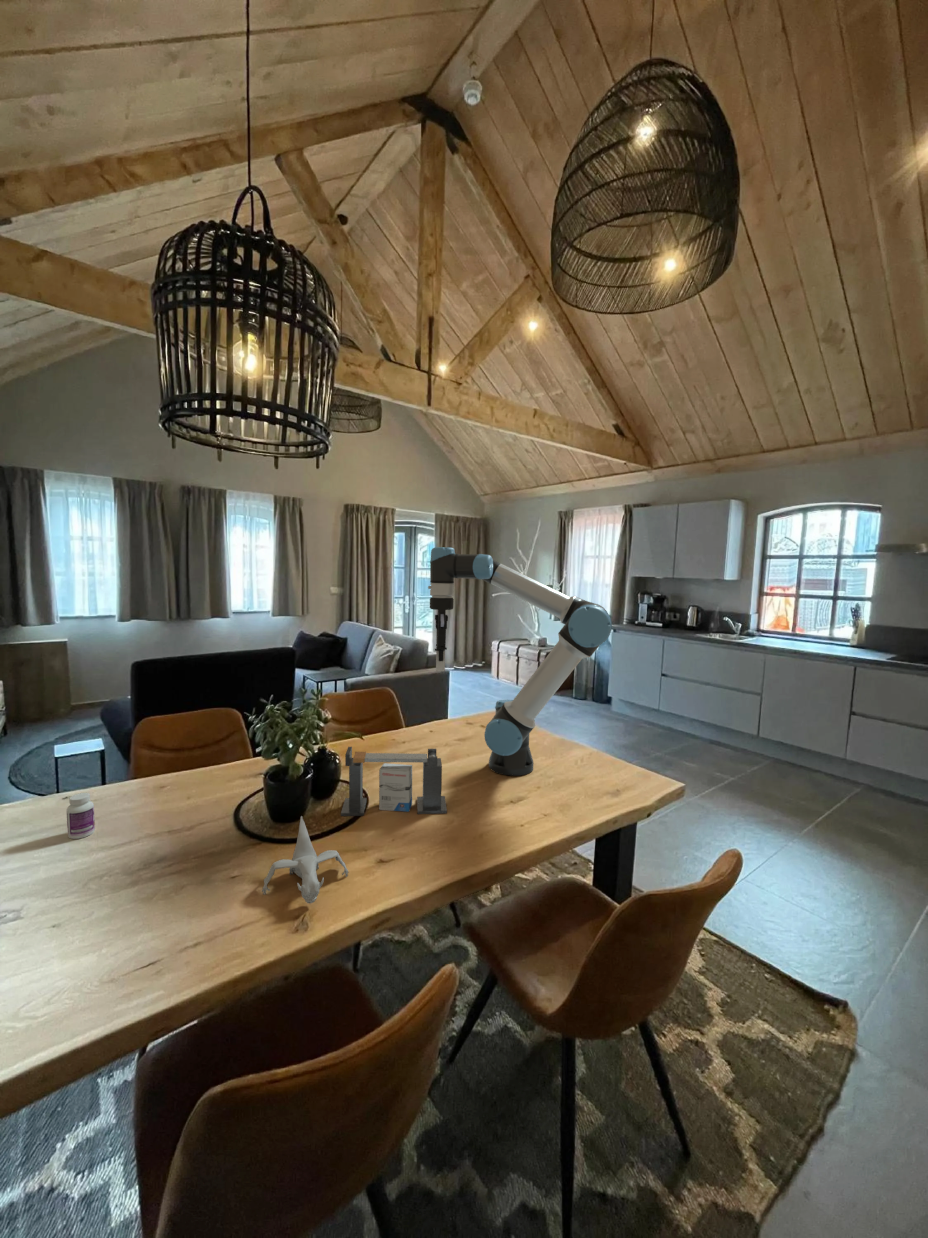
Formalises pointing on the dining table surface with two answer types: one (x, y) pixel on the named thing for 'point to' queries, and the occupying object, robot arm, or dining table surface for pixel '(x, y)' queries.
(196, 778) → the dining table surface
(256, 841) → the dining table surface
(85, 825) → the pill bottle
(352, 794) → the post
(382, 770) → the ink box
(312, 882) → the dragon figurine
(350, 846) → the dining table surface
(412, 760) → the white gate latch bar
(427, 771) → the hinge post
